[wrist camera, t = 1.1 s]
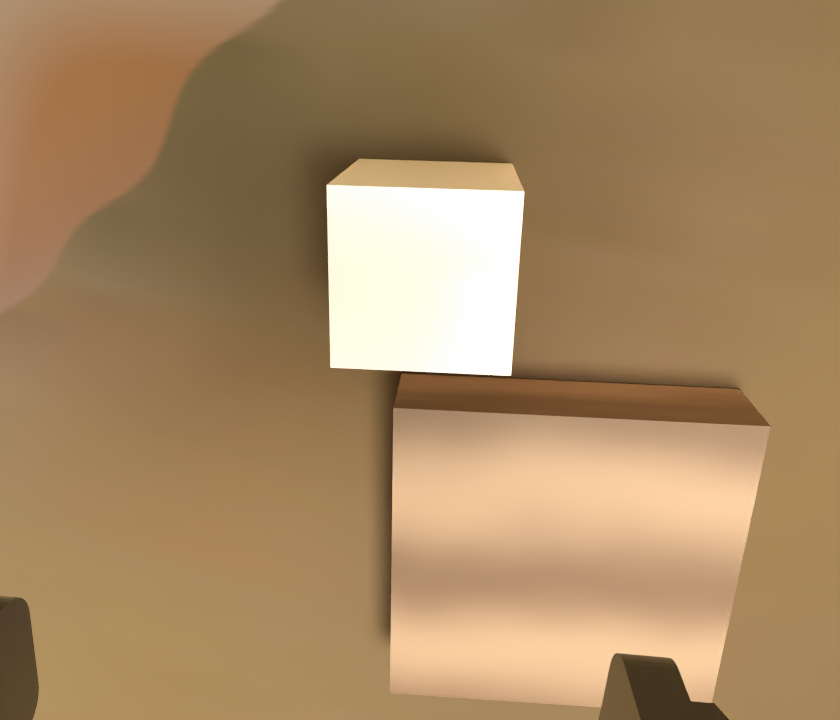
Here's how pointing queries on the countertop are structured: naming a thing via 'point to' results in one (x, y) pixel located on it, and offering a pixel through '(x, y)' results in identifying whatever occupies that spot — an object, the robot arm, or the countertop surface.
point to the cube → (424, 266)
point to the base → (564, 532)
